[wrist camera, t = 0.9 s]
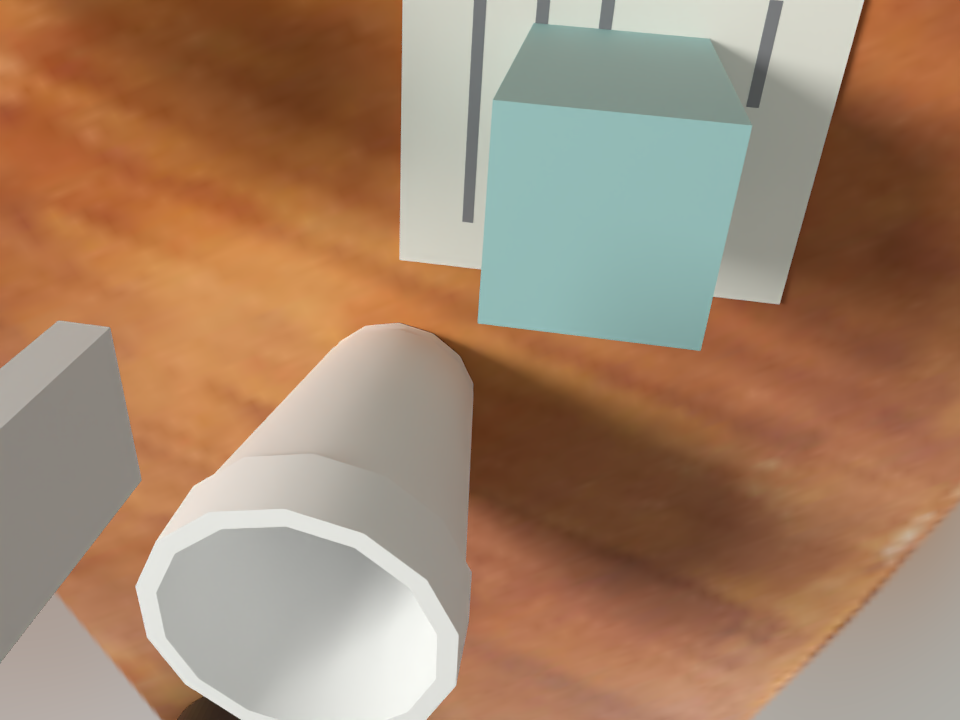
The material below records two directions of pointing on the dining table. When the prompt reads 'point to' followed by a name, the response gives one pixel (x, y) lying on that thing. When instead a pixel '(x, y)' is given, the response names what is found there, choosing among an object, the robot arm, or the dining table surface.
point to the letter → (635, 8)
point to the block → (610, 186)
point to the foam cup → (329, 544)
